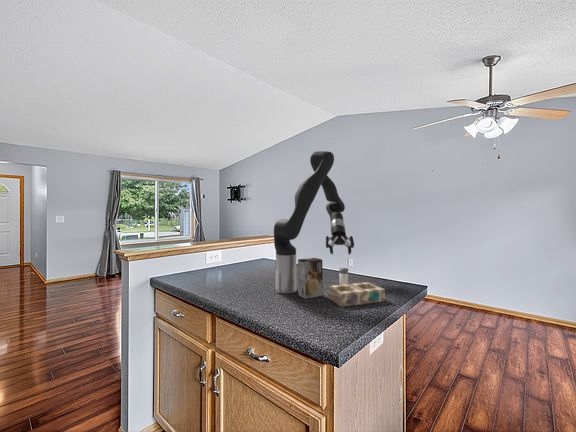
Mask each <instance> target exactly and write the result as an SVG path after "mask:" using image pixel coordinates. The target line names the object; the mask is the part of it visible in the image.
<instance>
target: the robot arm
mask: <svg viewBox="0 0 576 432" xmlns="http://www.w3.org/2000/svg"><path fill="white" fill-rule="evenodd" d="M309 161H310V162H309V163H310V166H311V167H312V168H311V169H313V170H312V171H314V172H313V173H312V174H311V175H309V176H308V177H306V179H304V180H302V182H301V183H300V185H299V186H298V188H297V190H296V192H295V195H294V210H293V211H292V214H291V216H290V217H289V219H284V218H283V219H278V220H276V222H275V224H274V226H273V242H274V249H275V254H276V256H275V257H276V259H275V260H276V268H275V271H274V273H275V274H274V275H275V277H274V283H275V284H274V285H275V291H276V293H278V294H292V293H295V292H297V248H296V247H295V246H294V245H293V244H292V243H291V241H292V240H295V239H297V237H298V236H299V234H300V232H301V230H302V227H303V225H304V222H305V218H306V216H307V214H308V212H309V210H310V208H311V206H312V204H313V202H314V200H315V198H316V196H317V194H318V192H319V189H321V188H322V190H323V193H324V195H325V199H326V201H327V203H326V205H325V206H326V207H325V209H326V212H327V214H328V215H329V218H330V219H329V220H330V234H331V235H330V236H328V235H326V236H325V248H327V249H329V254H331V255H334V247H335V246H344V247H346V248H347V252H348V255H349V256H350V255H351V254H352V249H353V248H354V247H355V241H354V238H353V235H350V236H347V233H346V225H345V222H344V216H343V214H342V213H344V211H345V209H346V207H345V206H346V205H345V204H344V201H343V200H342V199H341V197H340V196H339V194H338V190H337V186H336V185H335V182H334V181H333V180H332V179H331V178H330V177H329V176H328V174H329V172H331V169H332V168H333V165H334V162H335V156H334V154H333V152H331V151H326V150H325V151H323V150H322V151H321V150H320V151H314V152H312V153H311V155H310V159H309ZM330 241H331V243H329V242H330Z"/></svg>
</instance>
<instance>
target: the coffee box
mask: <svg viewBox="0 0 576 432" xmlns="http://www.w3.org/2000/svg"><path fill="white" fill-rule="evenodd" d="M323 270H324V269H323V259H322V258H316V257H306V258H299V259H297V278H298V280H297V282H298V283H297V284H298V285H297V286H298V296H299V297H301V298H302V299H312V298H317V297H323V296H324V286H323V284H324V283H323V282H324V281H323V279H324V278H323V277H324V276H323Z"/></svg>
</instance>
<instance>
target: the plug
mask: <svg viewBox="0 0 576 432" xmlns="http://www.w3.org/2000/svg"><path fill="white" fill-rule="evenodd" d="M343 284H349V268H348V267H340V268H339V285H343Z"/></svg>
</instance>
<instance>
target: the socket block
mask: <svg viewBox="0 0 576 432" xmlns="http://www.w3.org/2000/svg"><path fill="white" fill-rule="evenodd" d="M327 298H328V299H329V300H331V301H332V302H334V303H335V304H337V305H338V306H340V307H347V306H348V307H350V306H356V305H366V304H374V303H381V302H382V301H383V302H386V289H385V288H383V287H381V286H379V285H376V284H373V283H372V282H369V281H365V282H364V281H363V282H355V283H353V282H352V283H348V284H343V285H340V284H334V285H333V284H332V285H327Z"/></svg>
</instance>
